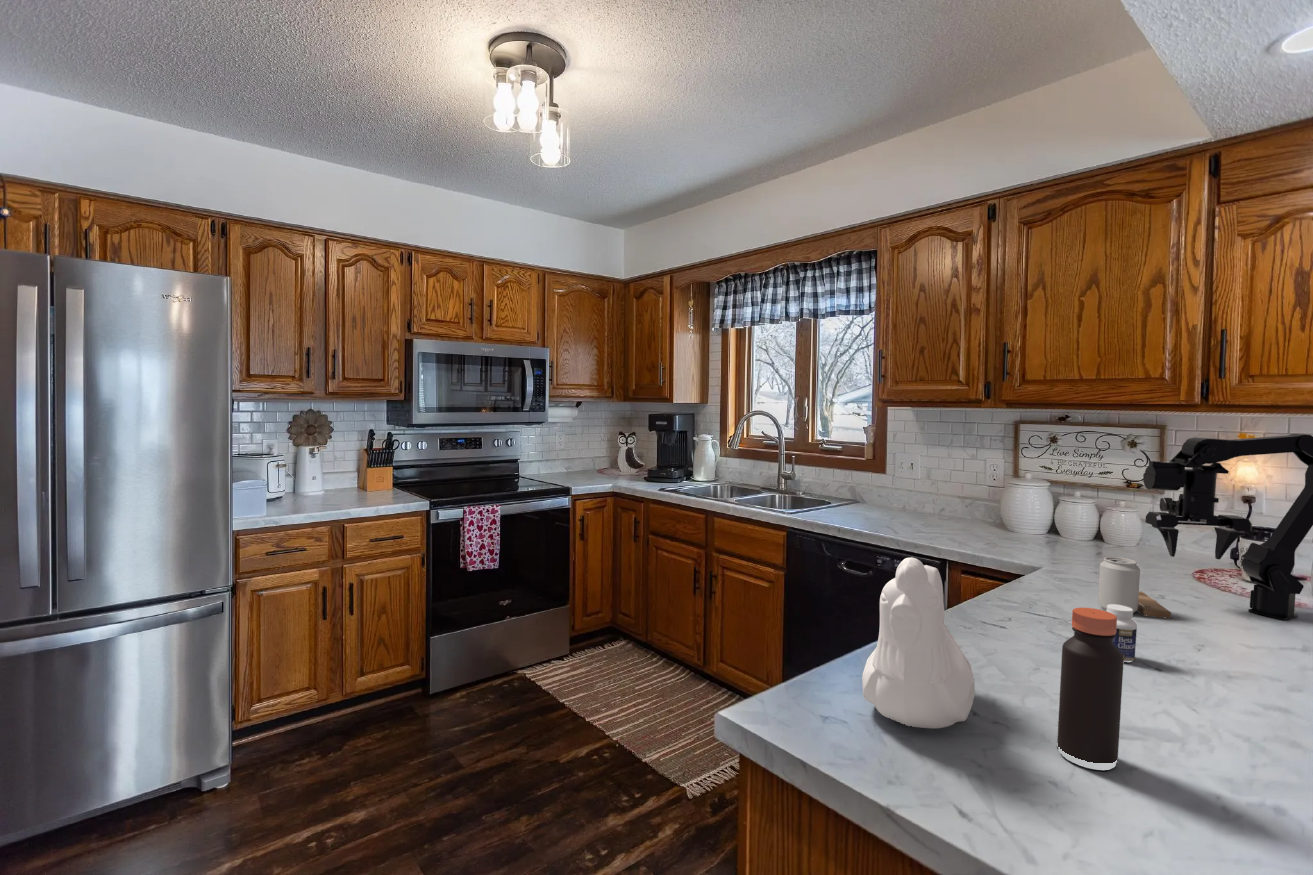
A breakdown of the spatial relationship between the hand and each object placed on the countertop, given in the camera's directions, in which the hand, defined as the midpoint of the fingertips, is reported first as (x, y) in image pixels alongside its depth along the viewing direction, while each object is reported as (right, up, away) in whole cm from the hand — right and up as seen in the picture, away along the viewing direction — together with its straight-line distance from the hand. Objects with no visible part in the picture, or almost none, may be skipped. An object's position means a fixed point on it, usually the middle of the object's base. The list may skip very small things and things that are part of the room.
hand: (1194, 557), depth 149 cm
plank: (-11, -12, +1) cm, 16 cm away
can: (-19, -12, -1) cm, 23 cm away
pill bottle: (-39, -14, -29) cm, 51 cm away
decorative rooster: (-84, -14, -49) cm, 99 cm away
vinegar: (-68, -15, -63) cm, 94 cm away
